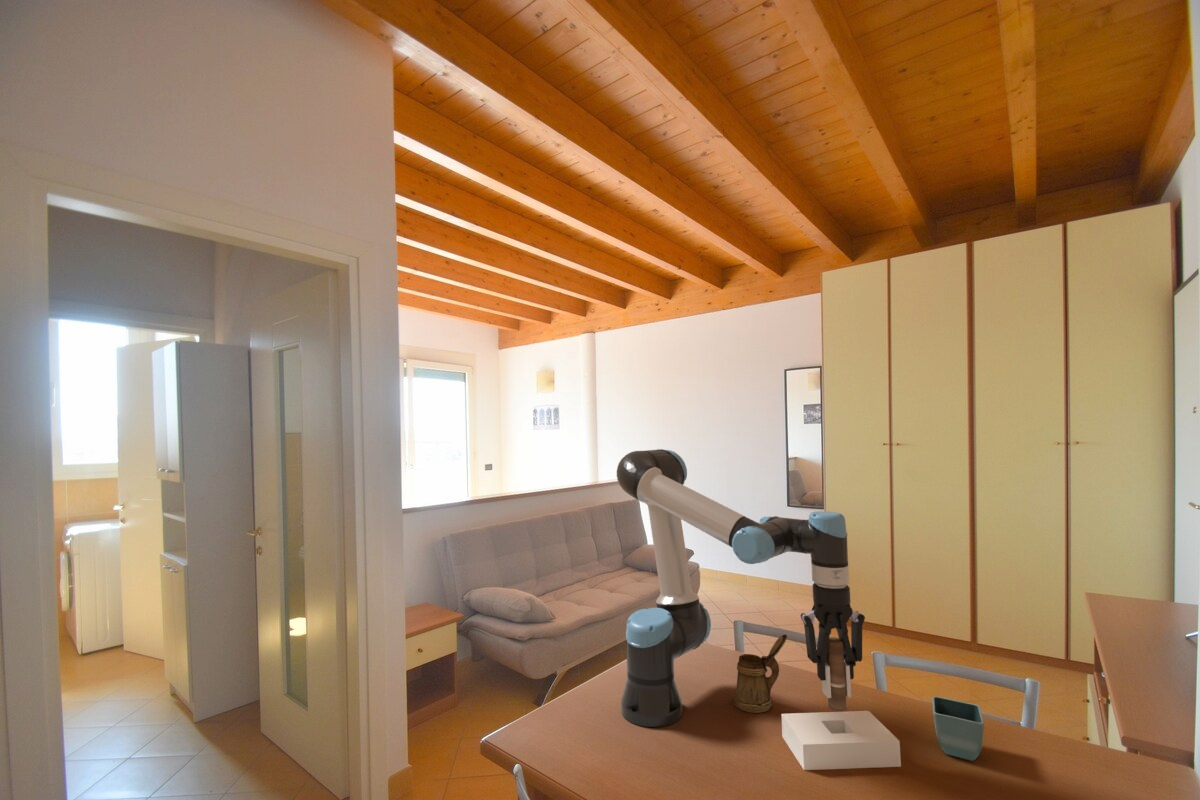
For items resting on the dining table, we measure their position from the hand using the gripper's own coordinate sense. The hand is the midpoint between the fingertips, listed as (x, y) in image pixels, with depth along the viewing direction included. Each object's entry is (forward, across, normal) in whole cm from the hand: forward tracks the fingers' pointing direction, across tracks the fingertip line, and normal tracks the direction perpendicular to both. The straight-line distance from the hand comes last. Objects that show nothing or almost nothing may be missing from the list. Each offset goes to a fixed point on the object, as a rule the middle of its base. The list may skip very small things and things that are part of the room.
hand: (836, 694), depth 115 cm
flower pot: (+12, +25, -2) cm, 28 cm away
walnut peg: (+3, 0, 0) cm, 3 cm away
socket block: (+12, 0, 0) cm, 12 cm away
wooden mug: (+12, -10, +20) cm, 25 cm away
